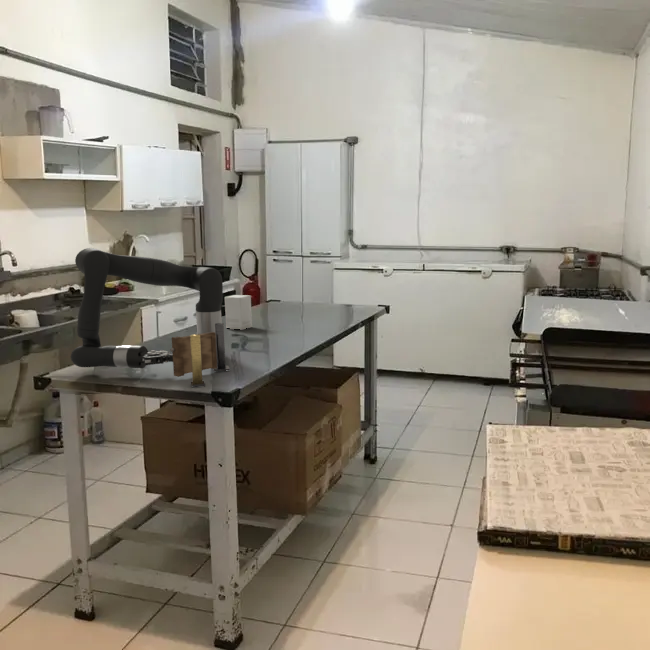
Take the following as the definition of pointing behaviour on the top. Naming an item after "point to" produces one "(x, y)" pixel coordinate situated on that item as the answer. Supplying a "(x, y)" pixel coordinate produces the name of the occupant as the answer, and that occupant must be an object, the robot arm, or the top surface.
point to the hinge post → (220, 348)
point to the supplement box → (238, 311)
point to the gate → (183, 353)
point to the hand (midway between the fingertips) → (179, 358)
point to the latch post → (196, 360)
